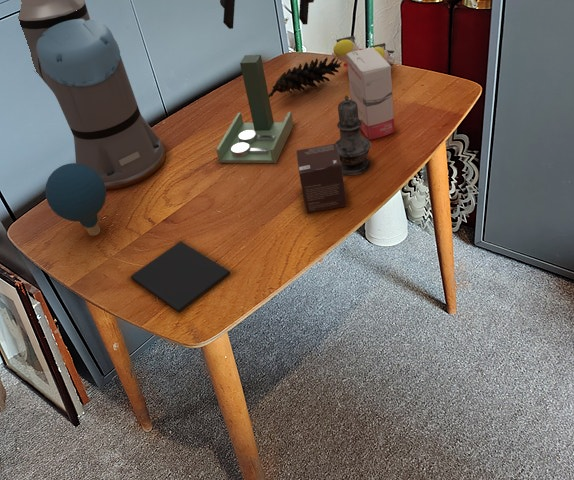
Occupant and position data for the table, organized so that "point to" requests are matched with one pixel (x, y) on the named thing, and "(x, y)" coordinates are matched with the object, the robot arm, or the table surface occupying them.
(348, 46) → the toy figures
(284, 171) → the table surface
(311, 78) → the pine cone
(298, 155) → the box
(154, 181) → the table surface
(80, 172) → the light bulb
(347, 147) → the salt shaker
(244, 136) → the spoon
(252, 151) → the spoon
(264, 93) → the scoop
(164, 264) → the mat
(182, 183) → the table surface
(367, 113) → the ink box
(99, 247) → the table surface
